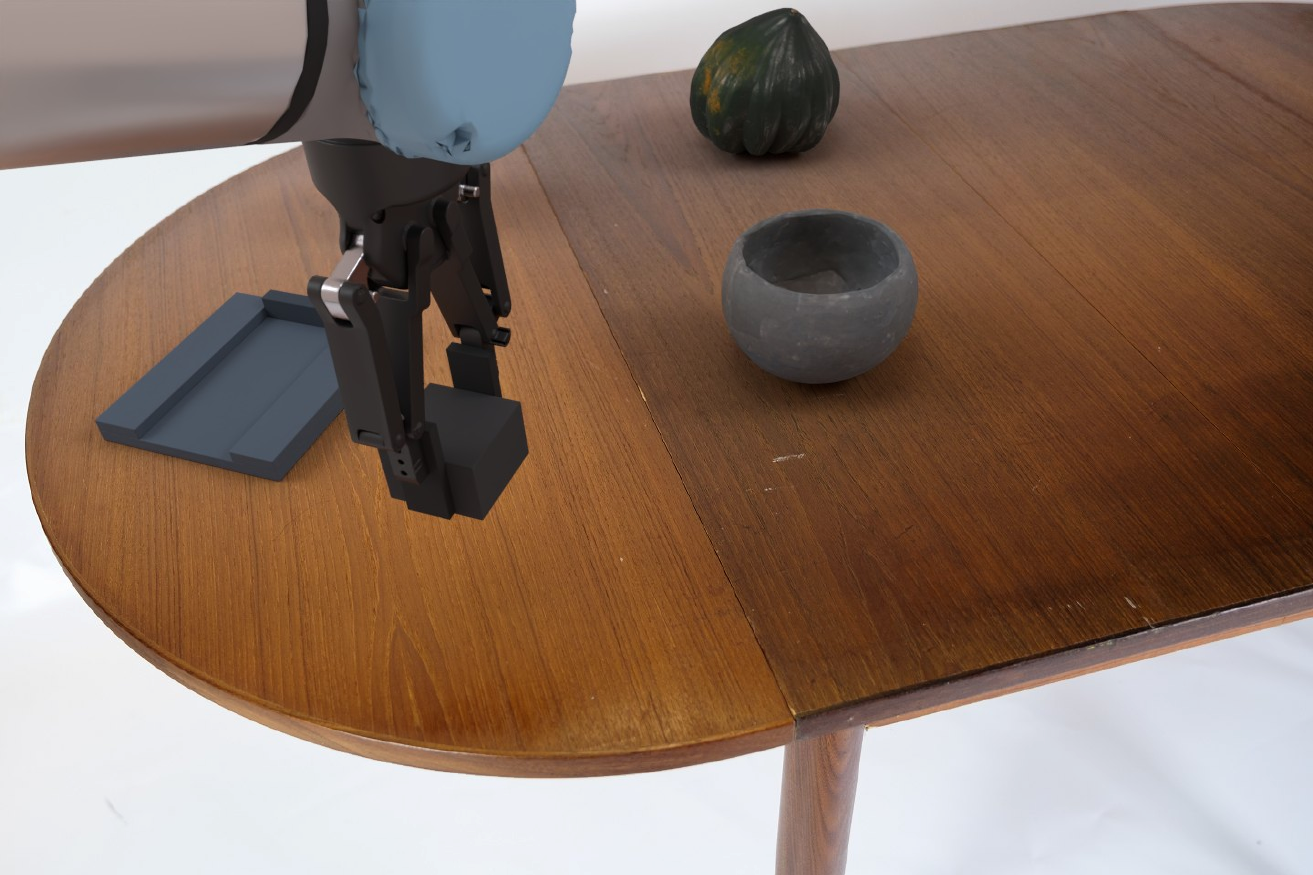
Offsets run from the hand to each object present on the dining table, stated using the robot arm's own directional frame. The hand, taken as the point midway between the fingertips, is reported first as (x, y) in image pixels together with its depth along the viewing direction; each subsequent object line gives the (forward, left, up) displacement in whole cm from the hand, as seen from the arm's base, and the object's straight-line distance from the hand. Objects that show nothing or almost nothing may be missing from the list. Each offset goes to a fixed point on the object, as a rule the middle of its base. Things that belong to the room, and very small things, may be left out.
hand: (460, 471), depth 66 cm
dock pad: (+14, +27, -11) cm, 33 cm away
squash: (+66, 0, -11) cm, 67 cm away
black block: (0, 0, 0) cm, 0 cm away
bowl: (+31, -14, -11) cm, 36 cm away
